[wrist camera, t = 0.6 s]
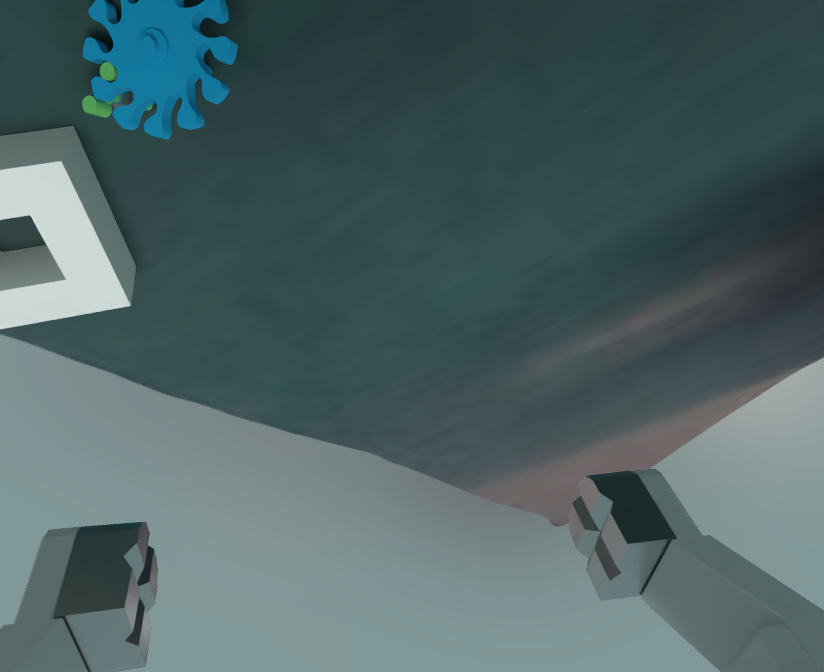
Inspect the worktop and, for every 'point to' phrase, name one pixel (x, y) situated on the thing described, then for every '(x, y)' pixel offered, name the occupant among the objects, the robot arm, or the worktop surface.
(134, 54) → the gear
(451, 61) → the worktop surface
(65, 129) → the fitting block
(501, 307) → the worktop surface
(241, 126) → the worktop surface
